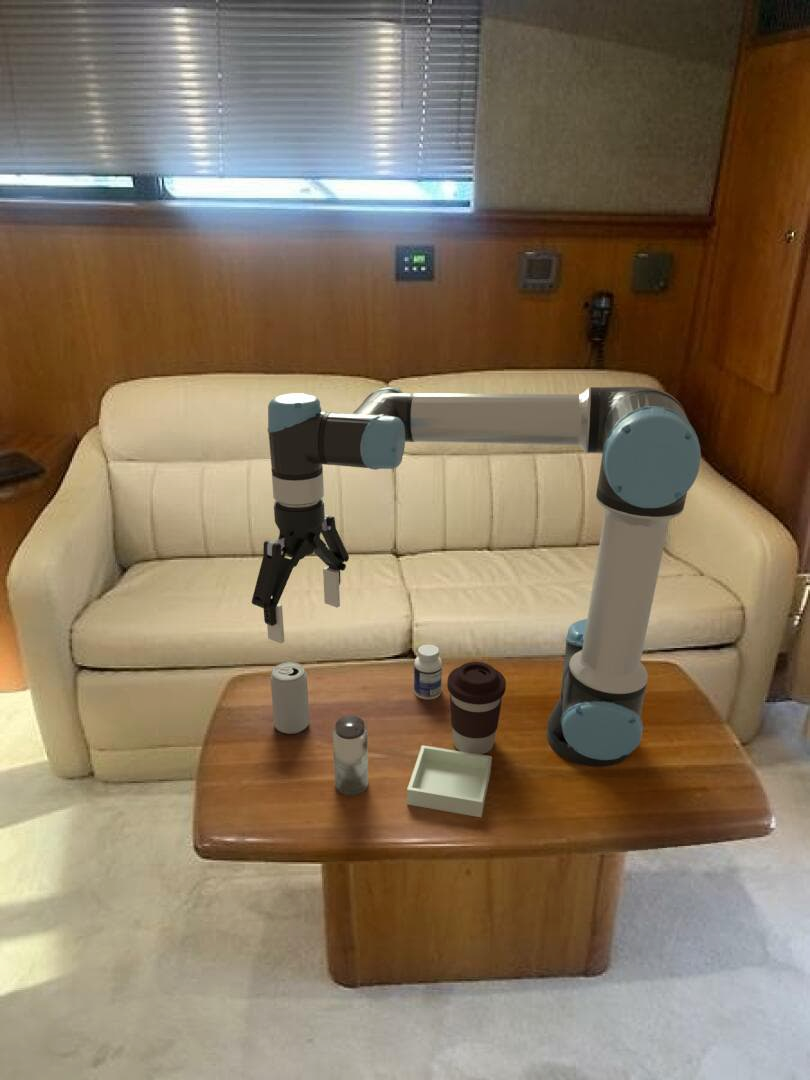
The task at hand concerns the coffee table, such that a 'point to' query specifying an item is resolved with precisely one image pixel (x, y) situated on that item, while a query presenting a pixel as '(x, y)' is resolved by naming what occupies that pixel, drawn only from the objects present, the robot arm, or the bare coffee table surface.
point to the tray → (450, 781)
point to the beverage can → (290, 697)
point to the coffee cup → (475, 706)
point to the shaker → (350, 755)
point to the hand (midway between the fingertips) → (305, 621)
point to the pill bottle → (428, 672)
